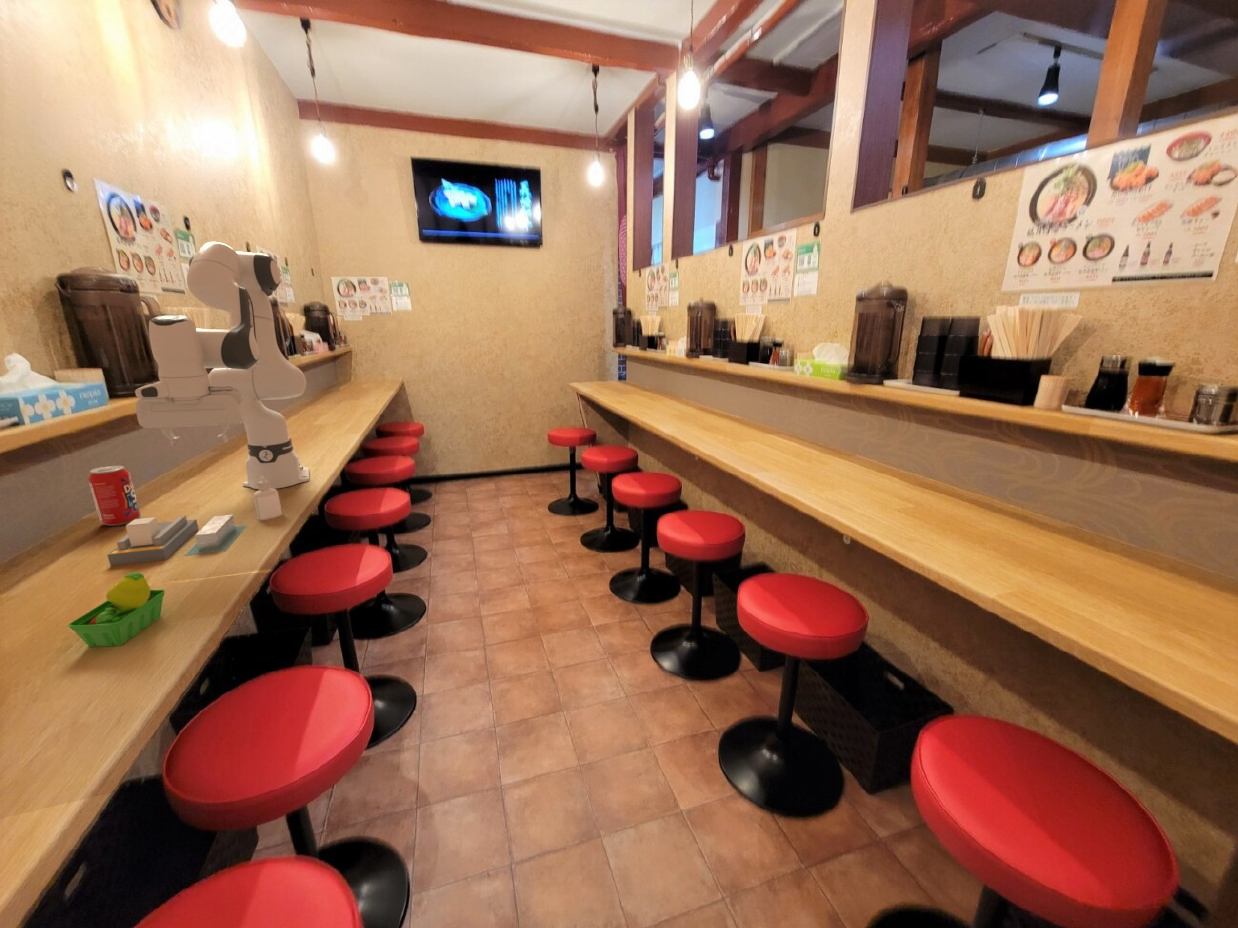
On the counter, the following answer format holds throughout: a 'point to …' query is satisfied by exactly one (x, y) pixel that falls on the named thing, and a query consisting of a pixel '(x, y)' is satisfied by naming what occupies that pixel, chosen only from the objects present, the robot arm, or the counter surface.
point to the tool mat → (223, 547)
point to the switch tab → (142, 531)
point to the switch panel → (155, 543)
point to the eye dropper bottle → (266, 501)
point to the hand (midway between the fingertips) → (200, 443)
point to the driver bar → (215, 532)
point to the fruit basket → (120, 613)
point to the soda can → (113, 495)
